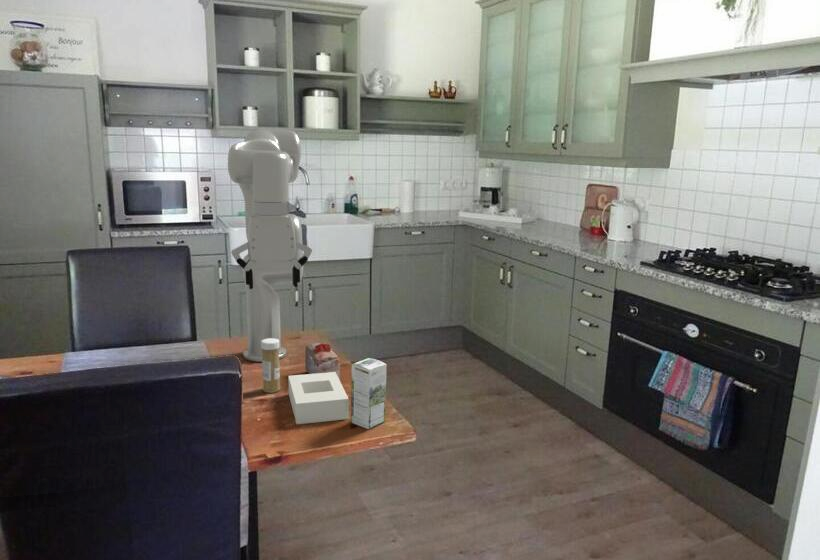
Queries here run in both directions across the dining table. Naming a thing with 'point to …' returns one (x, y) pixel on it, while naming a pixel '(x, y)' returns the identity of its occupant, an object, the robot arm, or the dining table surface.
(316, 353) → the food item
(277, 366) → the sprinkles bottle
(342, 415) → the socket block
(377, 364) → the syrup box
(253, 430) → the dining table surface
